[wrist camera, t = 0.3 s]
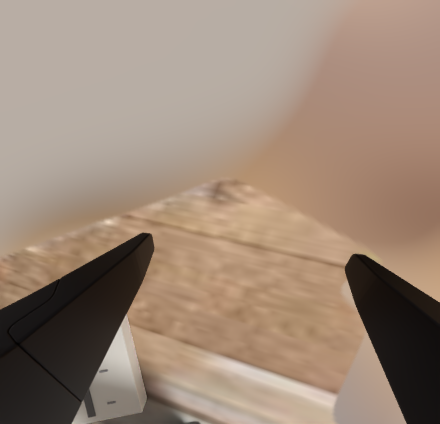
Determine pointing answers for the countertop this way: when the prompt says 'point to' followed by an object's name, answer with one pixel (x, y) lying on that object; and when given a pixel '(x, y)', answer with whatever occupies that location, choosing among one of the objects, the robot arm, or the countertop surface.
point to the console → (115, 383)
